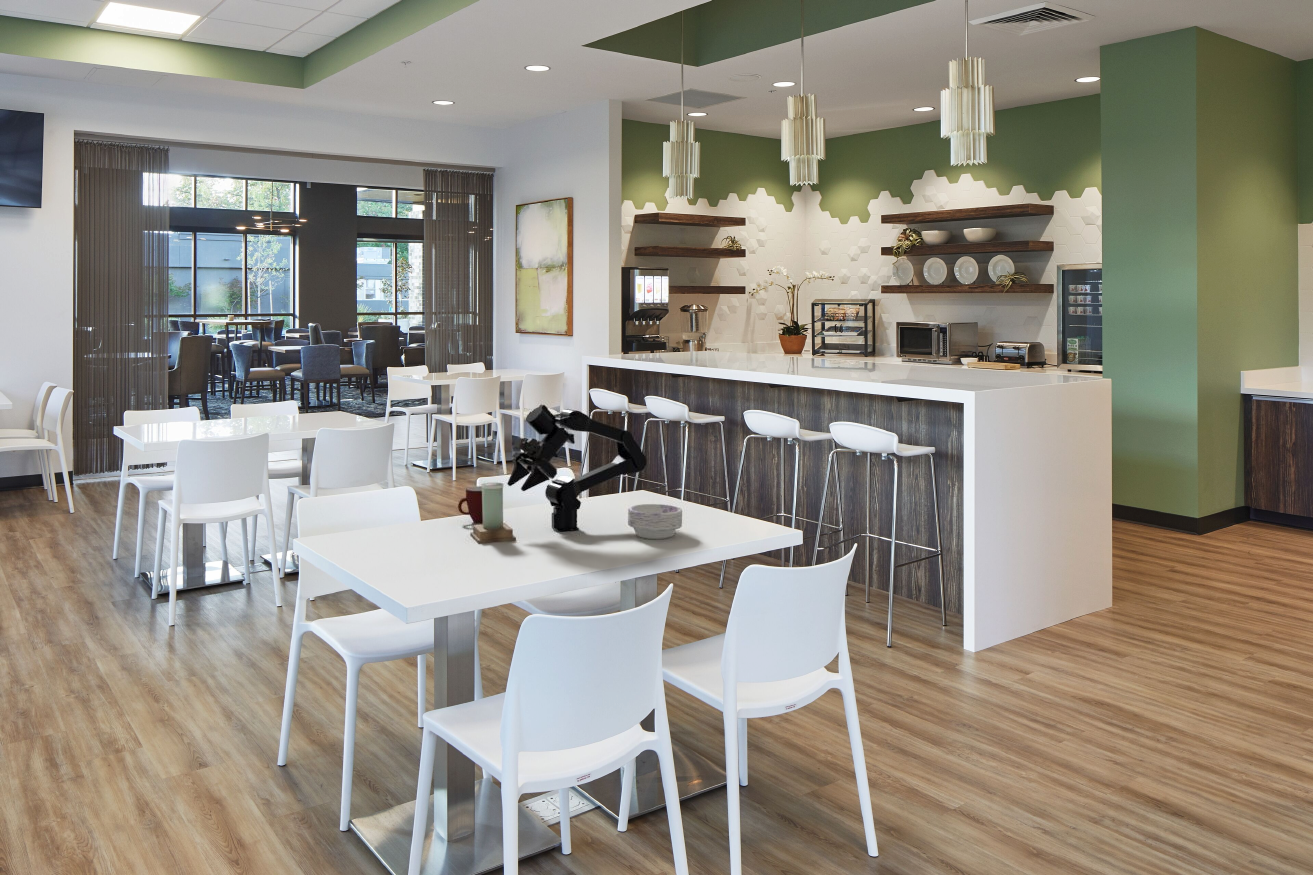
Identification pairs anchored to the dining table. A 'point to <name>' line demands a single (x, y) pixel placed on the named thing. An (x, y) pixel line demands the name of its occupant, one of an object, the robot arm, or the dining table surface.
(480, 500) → the mug
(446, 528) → the dining table surface
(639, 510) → the paper bowls
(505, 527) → the pedestal
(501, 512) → the tumbler
